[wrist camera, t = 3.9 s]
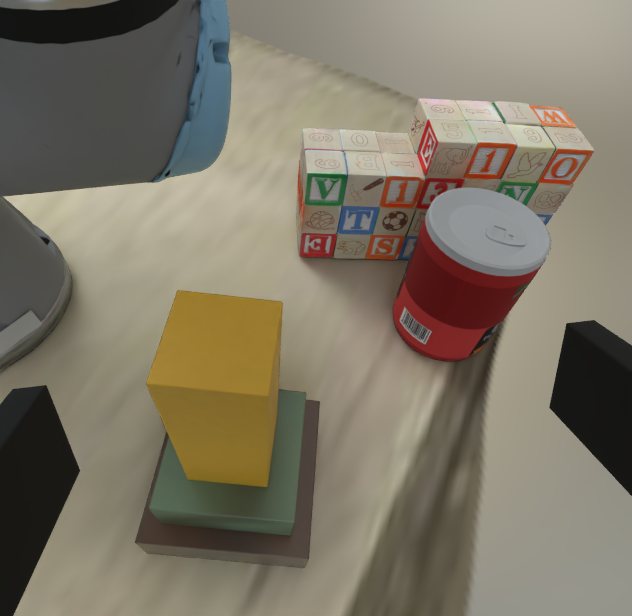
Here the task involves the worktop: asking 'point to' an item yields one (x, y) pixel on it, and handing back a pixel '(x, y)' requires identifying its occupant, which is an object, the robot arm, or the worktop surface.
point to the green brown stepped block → (240, 501)
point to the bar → (220, 385)
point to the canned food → (467, 271)
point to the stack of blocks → (429, 172)
